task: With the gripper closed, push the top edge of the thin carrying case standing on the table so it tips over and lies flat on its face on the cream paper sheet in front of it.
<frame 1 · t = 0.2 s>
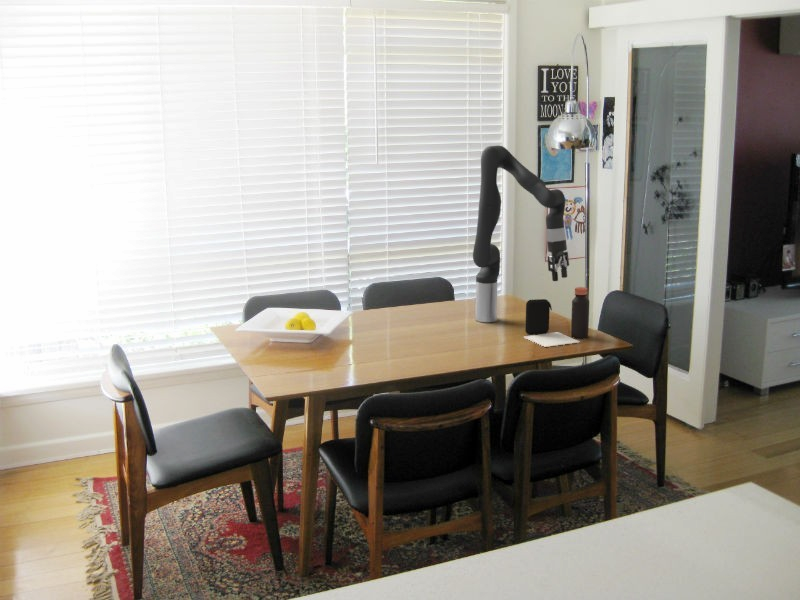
hand: (560, 279, 342), 22 cm above the table, tool pointing down, fingers open, 8 cm apart
carrying case or bag: (538, 334, 345), on the table
bottle: (579, 337, 340), on the table
cream paper sheet: (551, 340, 336), on the table
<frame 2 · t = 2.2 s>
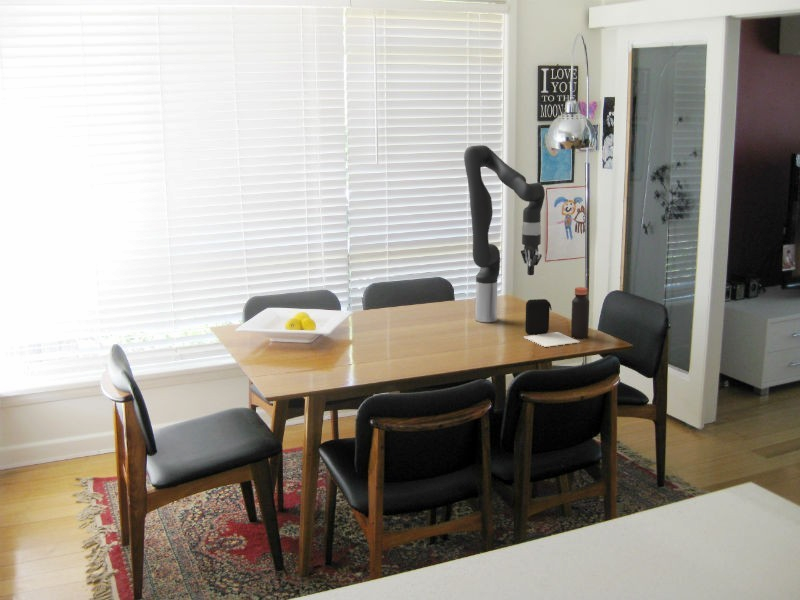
hand: (530, 274, 346), 24 cm above the table, tool pointing down, fingers closed
nothing on the table moved.
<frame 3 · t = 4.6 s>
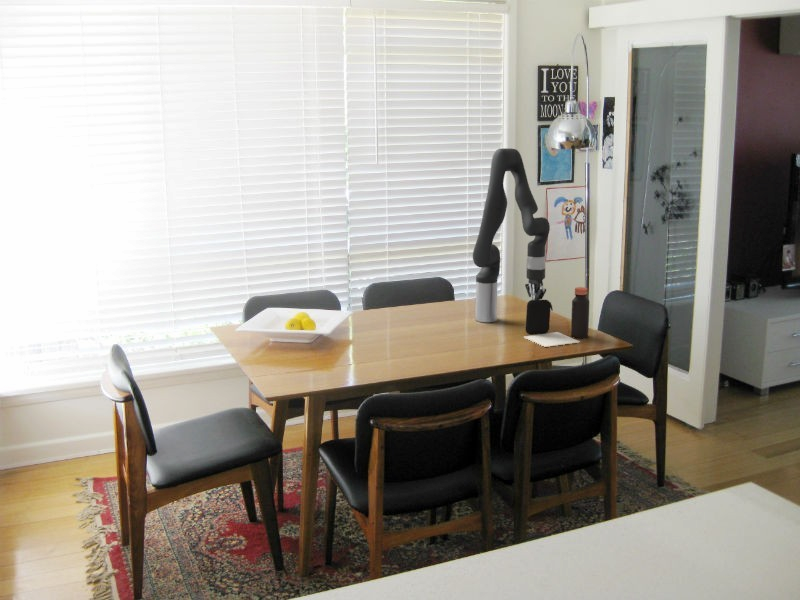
hand: (535, 308, 345), 10 cm above the table, tool pointing down, fingers closed
carrying case or bag: (538, 334, 345), on the table, touching cream paper sheet
everything else where it was.
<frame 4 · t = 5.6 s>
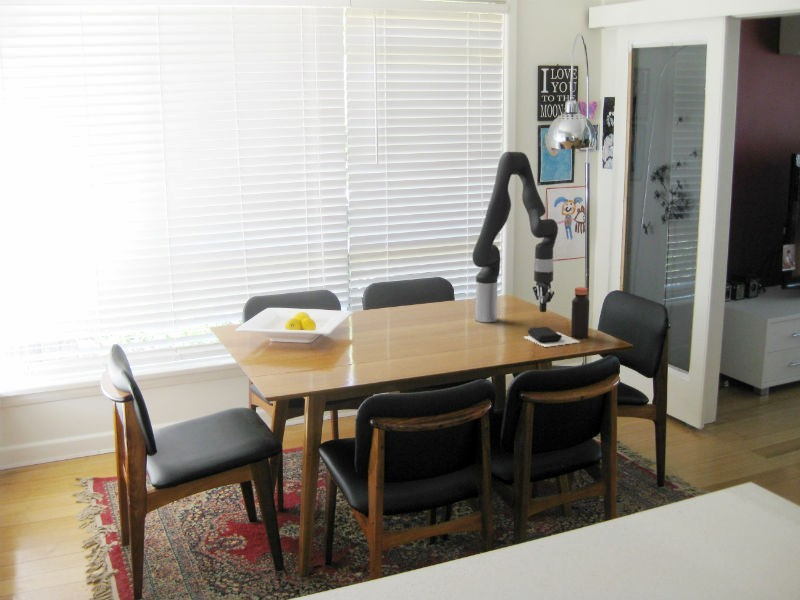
hand: (542, 311, 340), 10 cm above the table, tool pointing down, fingers closed
carrying case or bag: (538, 329, 344), point 2 cm above the table, touching cream paper sheet
everything else where it was.
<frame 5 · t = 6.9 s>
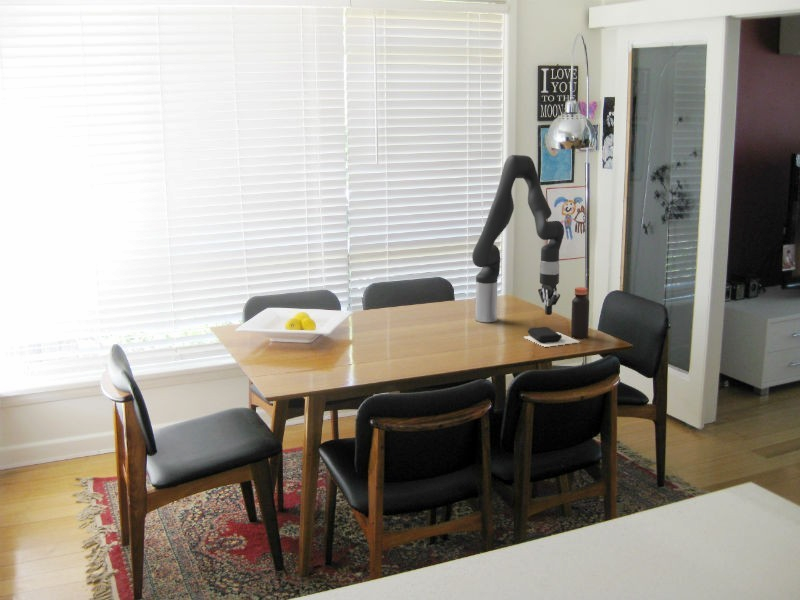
hand: (548, 314, 336), 10 cm above the table, tool pointing down, fingers closed
nothing on the table moved.
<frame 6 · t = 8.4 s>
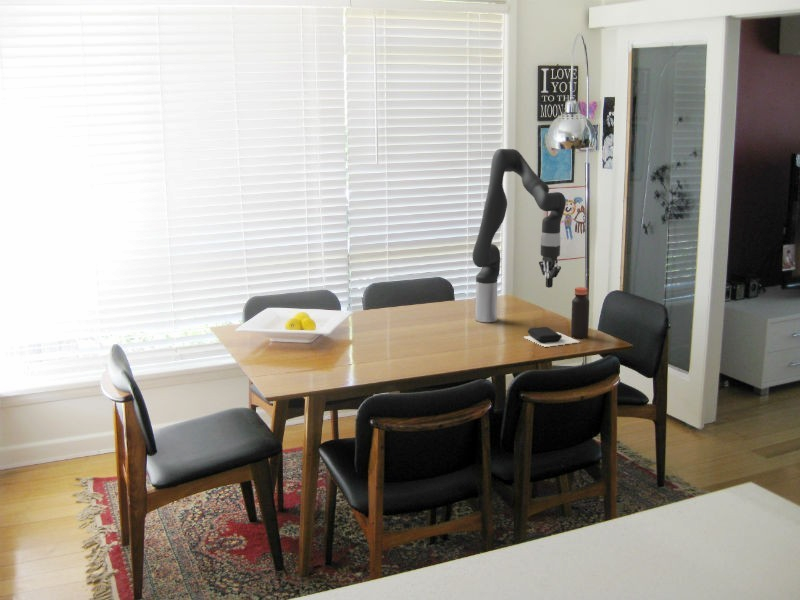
hand: (549, 287, 333), 21 cm above the table, tool pointing down, fingers closed
nothing on the table moved.
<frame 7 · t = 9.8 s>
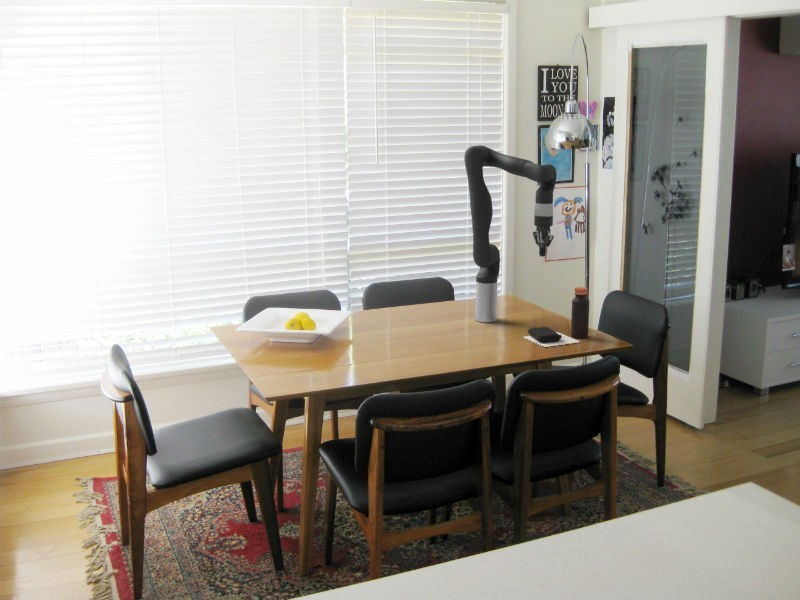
hand: (542, 256, 347), 31 cm above the table, tool pointing down, fingers closed
nothing on the table moved.
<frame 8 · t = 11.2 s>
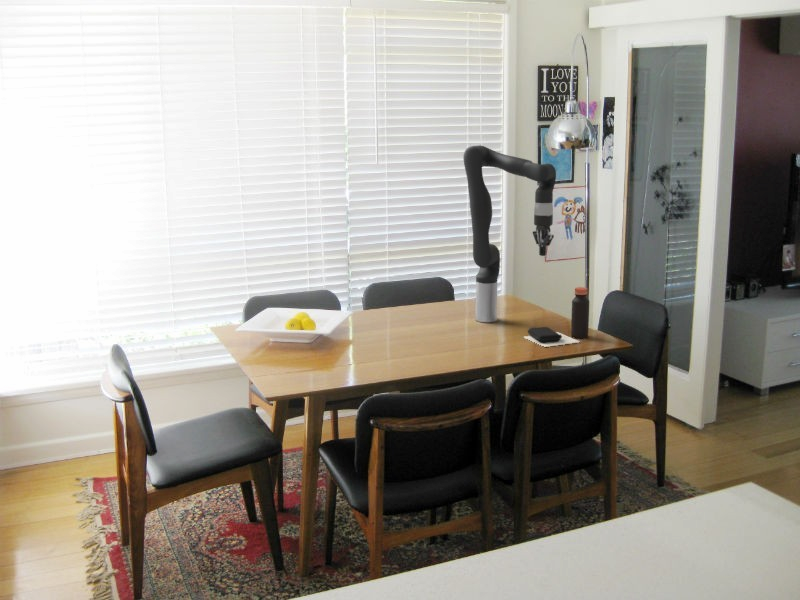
hand: (542, 255, 347), 31 cm above the table, tool pointing down, fingers closed
nothing on the table moved.
at the end: carrying case or bag tilted 90°; carrying case or bag inside the target area (5.7 cm from its centre), point 2.1 cm above the table; the gripper is holding nothing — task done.
